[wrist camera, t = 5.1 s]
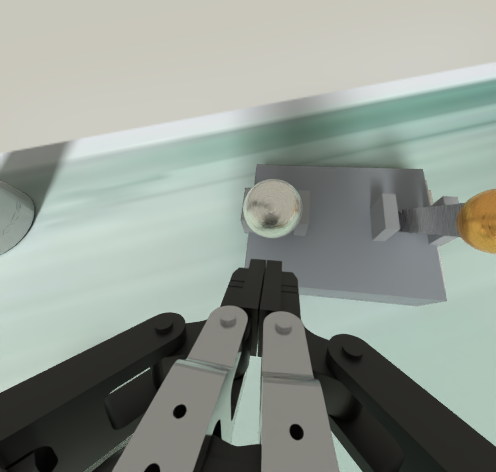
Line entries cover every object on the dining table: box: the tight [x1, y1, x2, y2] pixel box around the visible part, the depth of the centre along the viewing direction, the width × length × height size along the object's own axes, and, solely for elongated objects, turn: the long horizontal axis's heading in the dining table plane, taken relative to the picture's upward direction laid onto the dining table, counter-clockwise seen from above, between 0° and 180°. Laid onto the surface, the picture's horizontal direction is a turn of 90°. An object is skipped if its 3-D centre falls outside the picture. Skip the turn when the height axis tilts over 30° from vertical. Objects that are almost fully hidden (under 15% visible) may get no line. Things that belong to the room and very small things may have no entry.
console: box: [241, 164, 459, 306], centre depth 22 cm, size 17×12×7 cm
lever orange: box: [397, 189, 496, 254], centre depth 15 cm, size 3×3×10 cm
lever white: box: [243, 179, 303, 238], centre depth 17 cm, size 3×3×10 cm
